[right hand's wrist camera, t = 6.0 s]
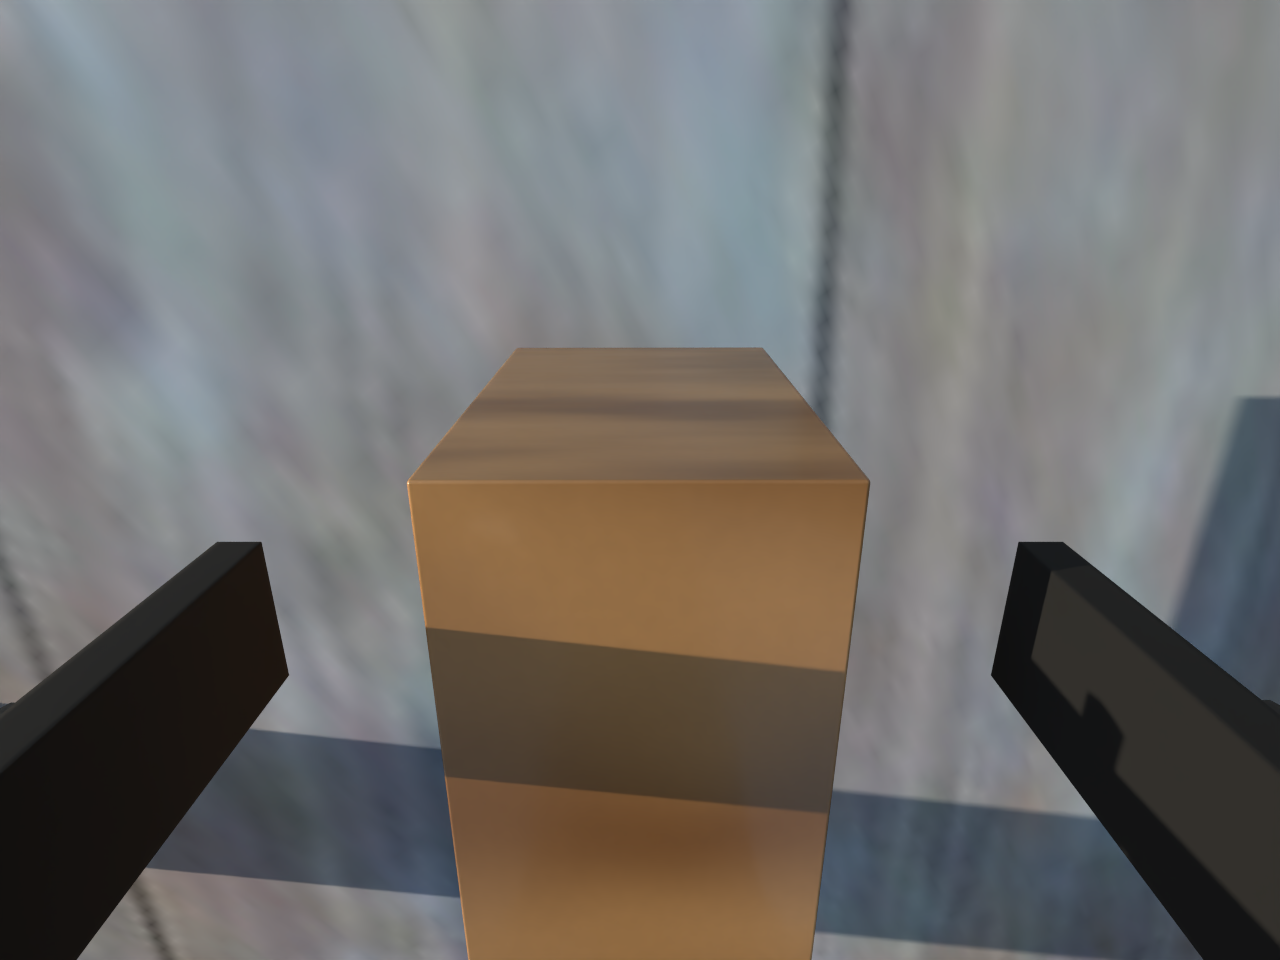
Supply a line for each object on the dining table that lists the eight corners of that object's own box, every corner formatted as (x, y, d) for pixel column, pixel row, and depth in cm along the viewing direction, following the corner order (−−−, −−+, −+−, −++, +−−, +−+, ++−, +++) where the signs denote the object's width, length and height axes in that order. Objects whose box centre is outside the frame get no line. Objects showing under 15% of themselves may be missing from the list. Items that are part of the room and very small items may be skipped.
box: (516, 347, 18) (404, 480, 10) (763, 347, 18) (872, 480, 10) (553, 913, 26) (508, 1274, 17) (728, 913, 26) (773, 1274, 17)
